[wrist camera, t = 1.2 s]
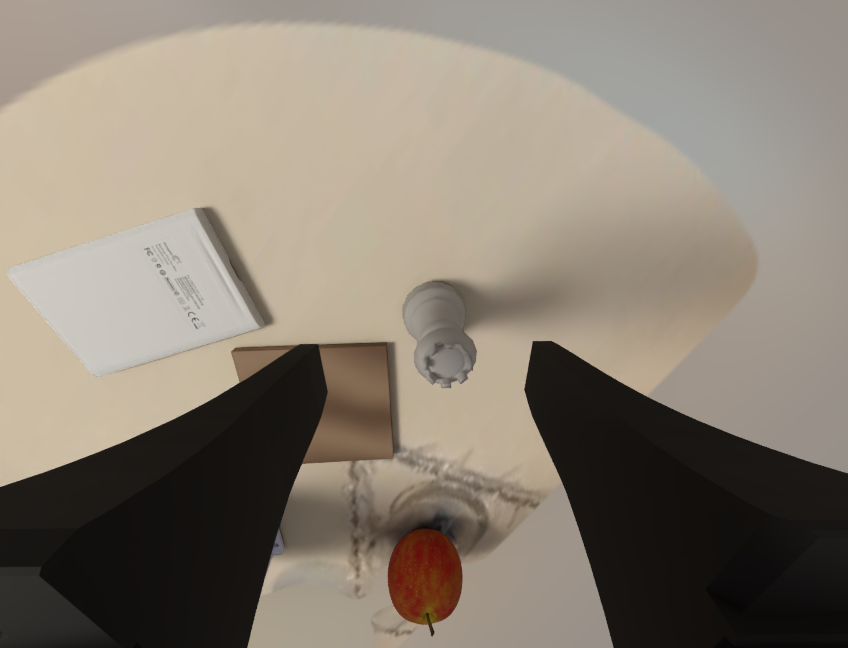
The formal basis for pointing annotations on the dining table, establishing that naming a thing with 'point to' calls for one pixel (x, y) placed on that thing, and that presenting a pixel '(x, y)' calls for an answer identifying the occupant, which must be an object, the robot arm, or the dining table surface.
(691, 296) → the dining table surface
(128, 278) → the external hard drive
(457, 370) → the rook chess piece
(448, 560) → the fruit
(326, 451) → the walnut coaster
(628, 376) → the dining table surface
